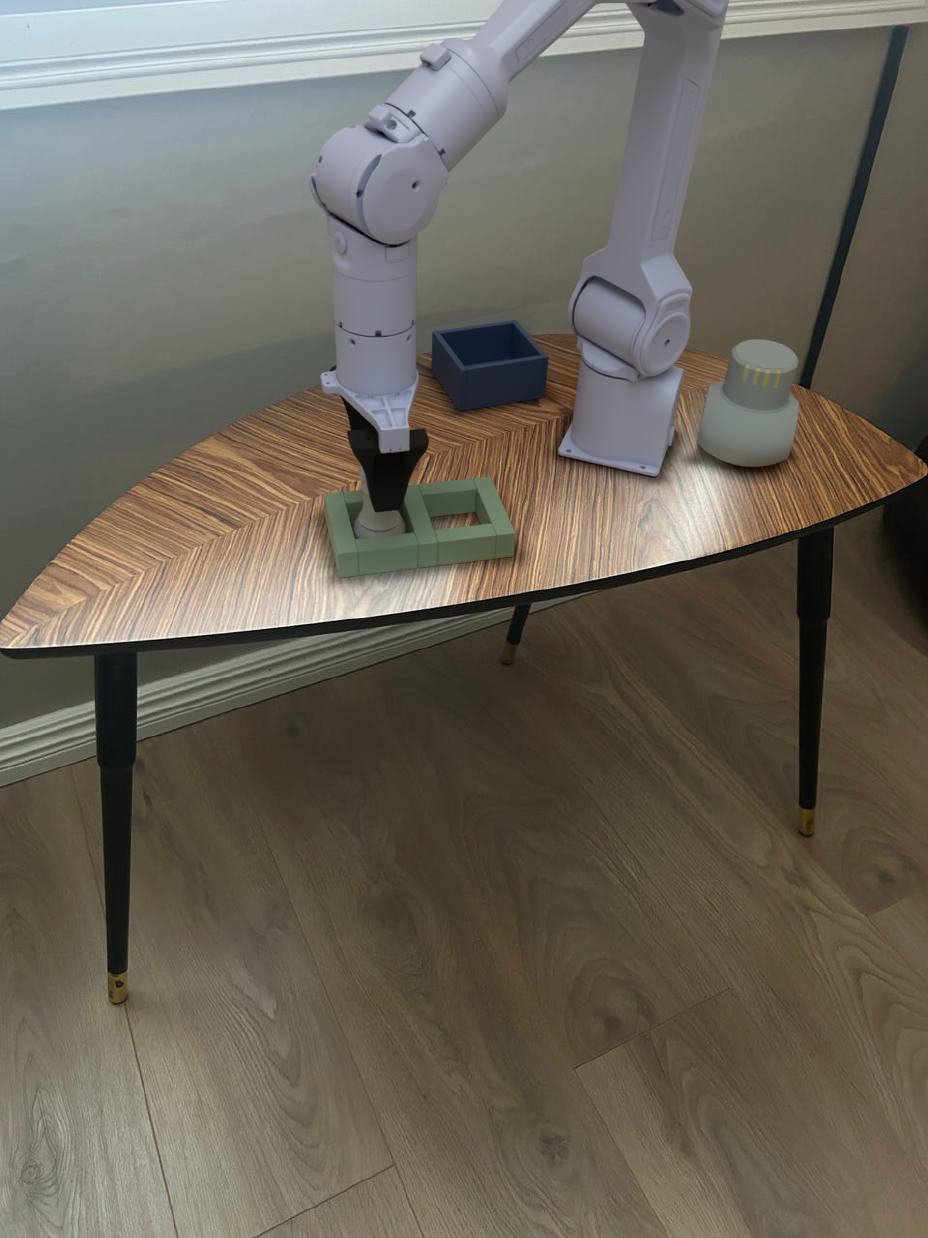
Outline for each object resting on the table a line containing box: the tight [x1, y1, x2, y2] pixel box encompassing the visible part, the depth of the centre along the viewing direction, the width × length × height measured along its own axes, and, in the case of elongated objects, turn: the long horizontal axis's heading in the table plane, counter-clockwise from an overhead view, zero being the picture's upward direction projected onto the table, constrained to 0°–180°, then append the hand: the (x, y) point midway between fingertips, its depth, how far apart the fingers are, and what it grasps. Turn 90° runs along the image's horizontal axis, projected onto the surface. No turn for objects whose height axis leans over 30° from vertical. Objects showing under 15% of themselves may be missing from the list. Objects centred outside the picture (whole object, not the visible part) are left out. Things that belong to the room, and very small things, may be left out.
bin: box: [431, 319, 550, 412], centre depth 101 cm, size 9×8×4 cm
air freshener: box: [696, 338, 800, 468], centre depth 92 cm, size 11×8×10 cm
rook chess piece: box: [352, 464, 407, 539], centre depth 81 cm, size 4×4×8 cm
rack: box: [323, 476, 516, 579], centre depth 83 cm, size 14×8×2 cm, turn 104°
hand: (378, 479), depth 79 cm, fingers open, 7 cm apart
